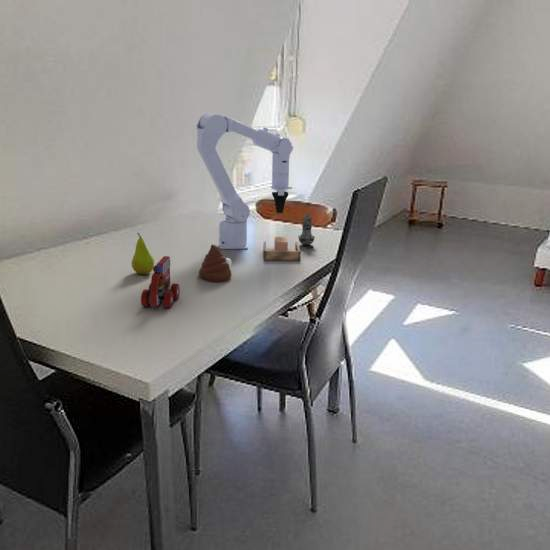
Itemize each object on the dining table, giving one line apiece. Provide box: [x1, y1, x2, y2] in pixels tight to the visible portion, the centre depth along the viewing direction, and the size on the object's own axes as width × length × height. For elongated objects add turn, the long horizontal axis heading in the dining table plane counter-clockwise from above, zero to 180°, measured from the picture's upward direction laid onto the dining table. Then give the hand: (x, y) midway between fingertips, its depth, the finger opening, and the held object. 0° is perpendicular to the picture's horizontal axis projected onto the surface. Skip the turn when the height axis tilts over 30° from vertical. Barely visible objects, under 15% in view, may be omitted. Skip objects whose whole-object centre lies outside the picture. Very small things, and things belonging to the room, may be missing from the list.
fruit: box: [131, 232, 155, 275], centre depth 136 cm, size 6×6×12 cm
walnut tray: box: [263, 240, 302, 262], centre depth 158 cm, size 11×12×3 cm
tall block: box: [273, 236, 289, 251], centre depth 161 cm, size 4×4×7 cm
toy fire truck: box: [140, 255, 181, 309], centre depth 116 cm, size 7×12×10 cm, turn 175°
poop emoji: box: [198, 244, 233, 283], centre depth 135 cm, size 10×8×9 cm
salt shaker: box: [297, 212, 316, 250], centre depth 167 cm, size 6×6×12 cm
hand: (279, 212), depth 172 cm, fingers closed
